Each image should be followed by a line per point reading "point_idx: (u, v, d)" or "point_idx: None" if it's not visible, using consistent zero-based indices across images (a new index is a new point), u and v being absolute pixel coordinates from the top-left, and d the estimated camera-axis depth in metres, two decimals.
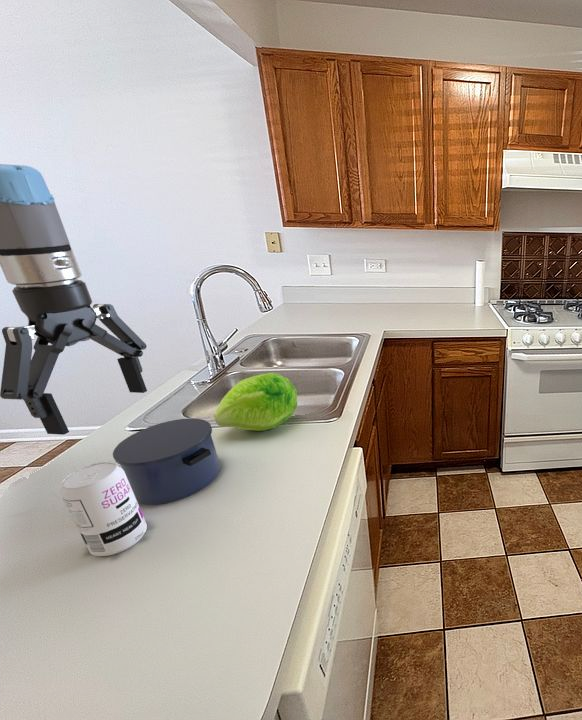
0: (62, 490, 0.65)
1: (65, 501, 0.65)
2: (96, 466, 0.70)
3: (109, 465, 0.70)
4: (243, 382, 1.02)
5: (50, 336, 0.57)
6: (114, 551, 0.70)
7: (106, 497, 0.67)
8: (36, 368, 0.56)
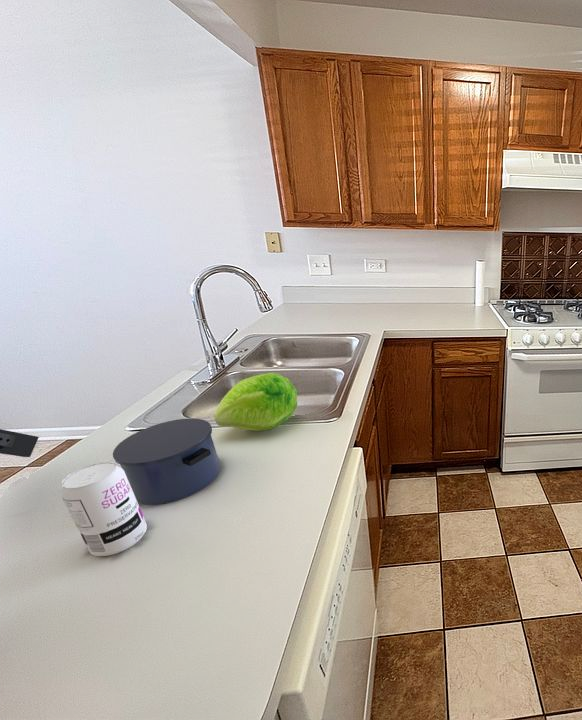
0: (62, 490, 0.65)
1: (65, 501, 0.65)
2: (96, 466, 0.70)
3: (109, 465, 0.70)
4: (243, 382, 1.02)
5: None
6: (114, 551, 0.70)
7: (106, 497, 0.67)
8: None
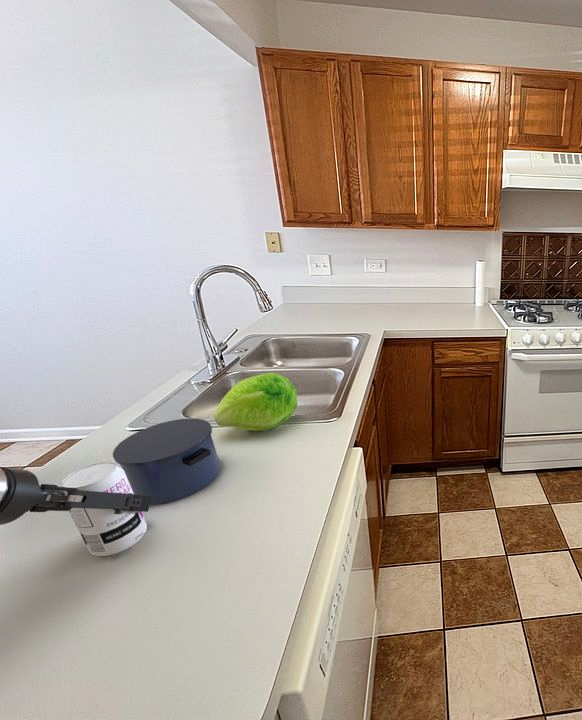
0: None
1: None
2: (96, 466, 0.70)
3: (109, 465, 0.70)
4: (243, 382, 1.02)
5: None
6: (114, 551, 0.70)
7: None
8: None
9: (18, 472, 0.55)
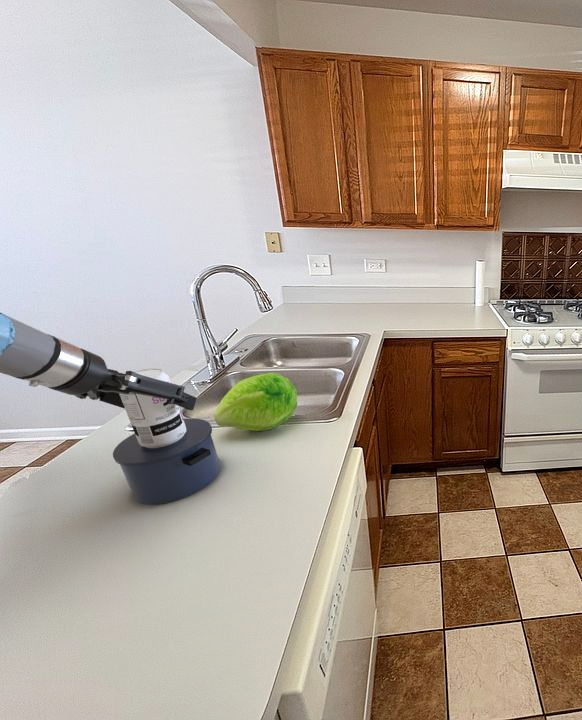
0: None
1: (122, 395, 0.77)
2: (145, 371, 0.81)
3: (156, 370, 0.82)
4: (243, 382, 1.02)
5: None
6: (161, 443, 0.81)
7: None
8: None
9: (90, 353, 0.67)
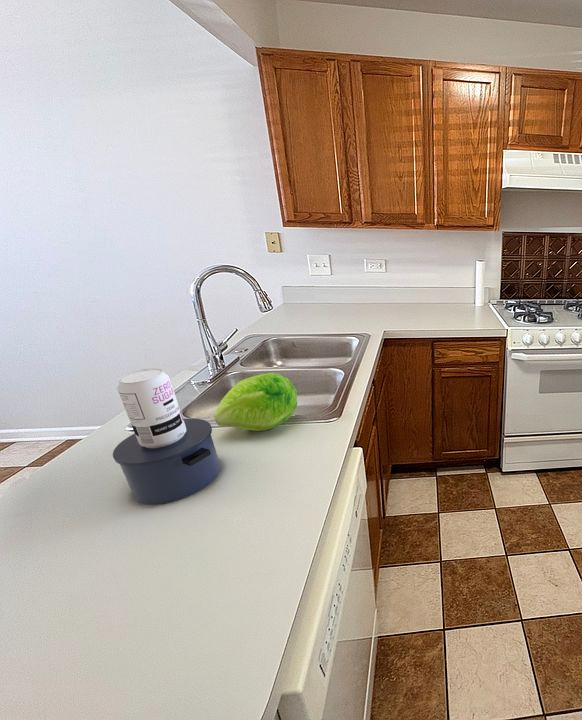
0: (120, 385, 0.77)
1: (122, 395, 0.77)
2: (145, 371, 0.81)
3: (156, 370, 0.82)
4: (243, 382, 1.02)
5: None
6: (161, 443, 0.81)
7: (155, 394, 0.78)
8: None
9: None
